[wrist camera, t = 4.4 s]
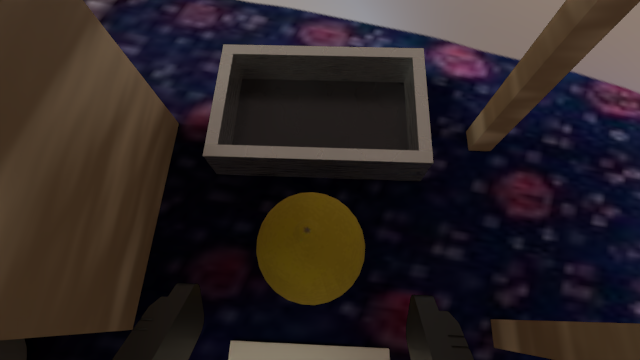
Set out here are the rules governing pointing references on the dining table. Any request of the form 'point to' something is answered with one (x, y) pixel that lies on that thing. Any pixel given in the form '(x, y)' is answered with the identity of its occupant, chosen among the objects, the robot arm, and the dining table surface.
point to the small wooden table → (153, 164)
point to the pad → (302, 352)
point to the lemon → (310, 248)
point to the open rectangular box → (320, 113)
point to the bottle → (13, 349)
